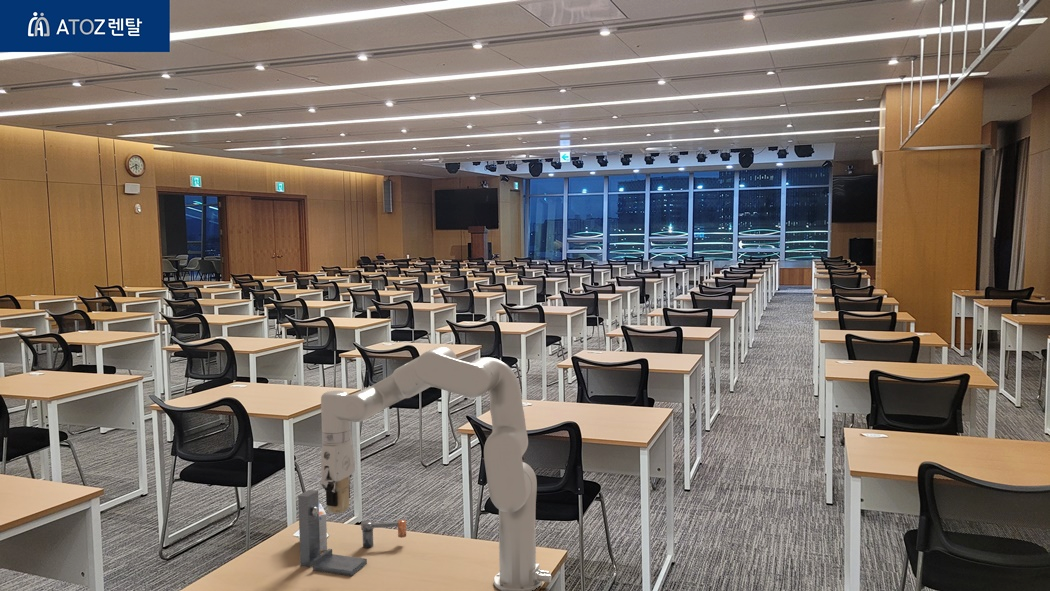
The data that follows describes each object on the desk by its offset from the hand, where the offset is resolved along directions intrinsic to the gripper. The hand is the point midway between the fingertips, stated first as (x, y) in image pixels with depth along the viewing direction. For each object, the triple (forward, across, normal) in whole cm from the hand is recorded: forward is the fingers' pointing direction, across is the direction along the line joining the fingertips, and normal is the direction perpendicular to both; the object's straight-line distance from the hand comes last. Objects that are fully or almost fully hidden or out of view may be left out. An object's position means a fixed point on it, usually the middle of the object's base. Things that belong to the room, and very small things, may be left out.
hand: (338, 501), depth 201 cm
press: (+19, 0, +3) cm, 19 cm away
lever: (+16, +17, -4) cm, 24 cm away
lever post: (+19, +15, 0) cm, 24 cm away
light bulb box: (+19, +11, +16) cm, 27 cm away
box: (+3, 0, 0) cm, 3 cm away
